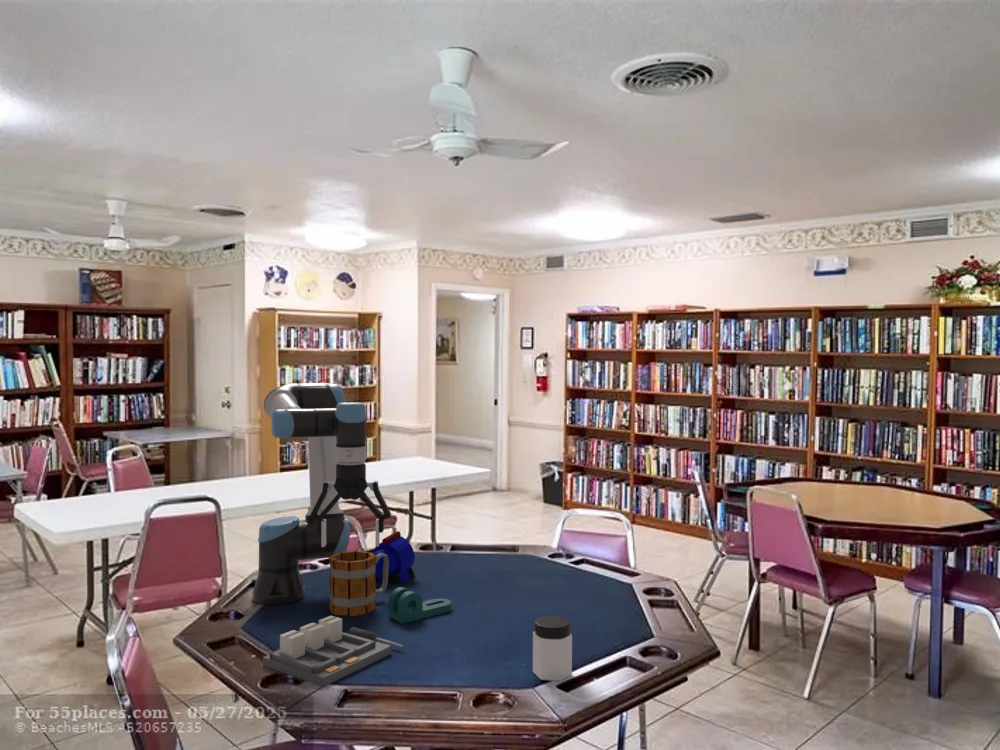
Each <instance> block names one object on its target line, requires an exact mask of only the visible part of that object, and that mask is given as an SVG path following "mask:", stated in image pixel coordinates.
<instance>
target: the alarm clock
mask: <svg viewBox="0 0 1000 750" xmlns="http://www.w3.org/2000/svg"><path fill="white" fill-rule="evenodd" d="M372 553H373V554H374V555H375V556H376V555H377V554H379V553H383V554H386V555H387V556H388V560H389V568H388V581H390V582H392V583H393V584H394V585H395V586H397V585H400V584H403V583H406V582H408V581H411V580H413V579H415V578H416V576H415V573H414V571H413V566H414V564H415V559H416V556H415V551H414V548H413V547H412V545H411V543H410V542H409V541H408V540H407V538H405V537H403V535H402V536H401V532H400V531H398V530H397V531H395V532H393V533H391V534H389V535H388V536H386V537H385V538H382V540H381V542H379V546H375V547H374V549H373V552H372ZM383 565H384V560H383V557H381V558H380V559H379V561H378V562H377V563H376V565H375V575H376V579H379V580H383Z"/></svg>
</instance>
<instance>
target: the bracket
mask: <svg viewBox="0 0 1000 750" xmlns="http://www.w3.org/2000/svg"><path fill="white" fill-rule="evenodd" d="M450 611H452V601H451V600H450V599H446V598H433V599H428V600H424V601H423V598H422V596H421V595H420V594H419V593H418V592H415V591H412V590H410V589H408V588H405V587H403V586H398V587H396V588H394V590H393V591H392V592H391V594H390V595H389V598H388V618H390V619H392V620H394V621H396V622H398V623H400V624H401V625H402V624H405V623H409V622H413V621H417V620H422V619H426V618H430V617H434V616H437V615H442V614H446V613H449V612H450Z"/></svg>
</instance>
